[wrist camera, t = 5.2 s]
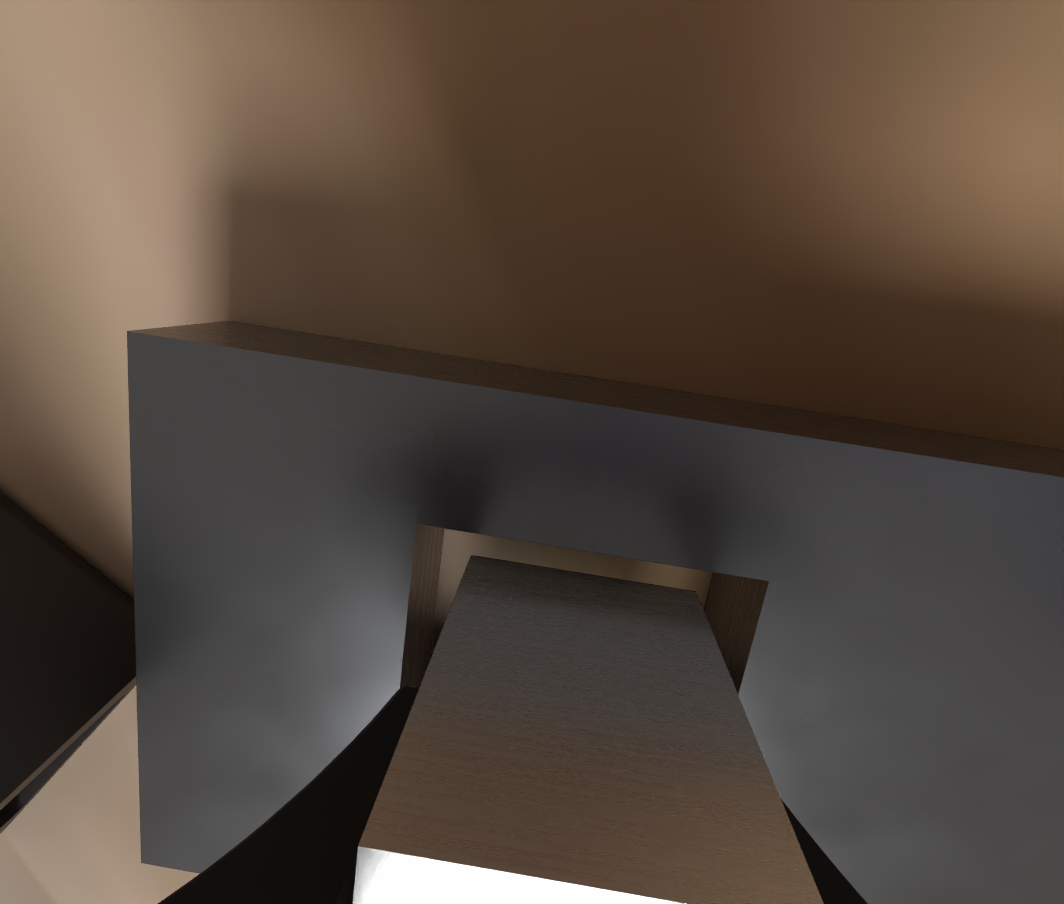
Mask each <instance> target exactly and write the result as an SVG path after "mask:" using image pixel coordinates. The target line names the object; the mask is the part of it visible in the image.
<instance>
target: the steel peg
mask: <svg viewBox="0 0 1064 904" xmlns="http://www.w3.org/2000/svg"><path fill="white" fill-rule="evenodd" d="M353 904H824V903H823V901H822V898H821V896H820V894H819V891H818V889H817V886H816V884H815V881H814V879H813V876H812V874H811V872H810V869H809V867H808V864H807V862H806V859H805V857H804V854H803V852H802V850H801V847H800V845H799V842H798V840H797V837H796V835H795V832H794V830H793V828H792V825H791V823H790V820H789V818H788V815H787V813H786V810H785V808H784V806H783V803H782V801H781V798H780V796H779V793H778V791H777V788H776V786H775V784H774V781H773V779H772V776H771V774H770V771H769V769H768V766H767V764H766V762H765V759H764V757H763V754H762V752H761V749H760V747H759V744H758V742H757V740H756V737H755V735H754V732H753V730H752V727H751V725H750V722H749V720H748V718H747V715H746V713H745V710H744V708H743V705H742V703H741V700H740V698H739V696H738V693H737V691H736V688H735V686H734V683H733V681H732V678H731V676H730V674H729V671H728V669H727V666H726V664H725V661H724V659H723V656H722V654H721V652H720V649H719V647H718V644H717V642H716V639H715V637H714V634H713V632H712V630H711V627H710V625H709V622H708V620H707V617H706V615H705V612H704V610H703V608H702V605H701V603H700V600H699V598H698V595H697V593H696V591H689V590H683V589H677V588H671V587H665V586H659V585H653V584H646V583H640V582H634V581H628V580H622V579H616V578H610V577H603V576H597V575H591V574H585V573H579V572H573V571H567V570H560V569H554V568H548V567H542V566H536V565H530V564H524V563H517V562H511V561H505V560H499V559H493V558H487V557H481V556H474V555H471V557H470V559H469V562H468V564H467V567H466V569H465V572H464V575H463V577H462V580H461V582H460V585H459V587H458V590H457V593H456V595H455V598H454V600H453V603H452V605H451V608H450V611H449V613H448V616H447V618H446V621H445V623H444V626H443V629H442V631H441V634H440V636H439V639H438V642H437V644H436V647H435V649H434V652H433V654H432V657H431V660H430V662H429V665H428V667H427V670H426V672H425V675H424V678H423V680H422V683H421V685H420V688H419V690H418V693H417V696H416V698H415V701H414V703H413V706H412V708H411V711H410V714H409V716H408V719H407V721H406V724H405V726H404V729H403V732H402V734H401V737H400V739H399V742H398V745H397V747H396V750H395V752H394V755H393V757H392V760H391V763H390V765H389V768H388V770H387V773H386V775H385V778H384V781H383V783H382V786H381V788H380V791H379V793H378V796H377V799H376V801H375V804H374V806H373V809H372V811H371V814H370V817H369V819H368V822H367V824H366V827H365V830H364V832H363V835H362V837H361V840H360V842H359V845H358V852H357V862H356V873H355V884H354V895H353Z"/></svg>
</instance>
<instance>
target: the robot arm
mask: <svg viewBox="0 0 1064 904" xmlns="http://www.w3.org/2000/svg"><path fill="white" fill-rule="evenodd" d="M418 690H419V688H414V687H408V686H404V687H402V688H401V689H399V690H397V691H396V693H395V694H394V695H393V696H392V697H391V699H390V700H389V701H388V702H387V703H386V704H385V706H384V707H383V708H382V709H381V710H380V711H379V713H378V714H377V715H376V716H375V717H374V718H373V719H372V720H371V721H370V722H369V724H368V725H367V726H366V727H365V728H364V729H363V730H362V731H361V732H360V733H359V734H358V735H357V736H356V737H355V738H354V739H353V741H352V742H351V743H350V744H349V745H348V746H347V747H346V748H345V749H344V750H343V751H342V752H341V753H340V754H338V755H337V756H336V757H335V758H334V759H333V760H332V761H331V762H330V763H329V764H328V765H327V766H326V767H325V768H324V769H323V770H322V771H321V772H320V773H319V774H318V775H317V776H316V777H315V778H314V779H313V780H312V781H311V782H310V783H309V784H308V785H306V786H305V787H304V788H303V789H302V790H301V791H300V792H299V793H297V794H296V795H295V796H294V797H293V798H292V799H291V800H290V801H288V802H287V803H286V804H285V805H284V806H283V807H282V808H281V809H279V810H278V811H277V812H276V813H275V814H274V815H273V816H272V817H270V818H269V819H268V820H267V821H266V822H265V823H263V824H262V825H261V826H260V827H259V828H257V829H256V830H255V831H254V832H253V833H251V834H250V835H249V836H248V837H247V838H245V839H244V840H243V841H242V842H240V843H239V844H238V845H237V846H235V847H234V848H233V849H232V850H230V851H229V852H228V853H226V854H225V855H224V856H223V857H221V858H220V859H219V860H217V861H216V862H215V863H213V864H212V865H211V866H209V867H208V868H207V869H206V870H204V871H203V872H202V873H200V874H199V875H198V876H196V877H195V878H194V879H192V880H191V881H189V882H188V883H187V884H185V885H184V886H182V887H181V888H180V889H178V890H177V891H175V892H174V893H172V894H171V895H170V896H168V897H167V898H165V899H164V900H162V901H161V902H160V903H158V904H353V895H354V884H355V873H356V862H357V852H358V845H359V842H360V840H361V837H362V835H363V832H364V830H365V827H366V824H367V822H368V819H369V817H370V814H371V811H372V809H373V806H374V804H375V801H376V799H377V796H378V793H379V791H380V788H381V786H382V783H383V781H384V778H385V775H386V773H387V770H388V768H389V765H390V763H391V760H392V757H393V755H394V752H395V750H396V747H397V745H398V742H399V739H400V737H401V734H402V732H403V729H404V726H405V724H406V721H407V719H408V716H409V714H410V711H411V708H412V706H413V703H414V701H415V698H416V696H417V693H418ZM781 801H782V803H783V806H784V808H785V810H786V813H787V815H788V818H789V820H790V823H791V825H792V828H793V830H794V832H795V835H796V837H797V840H798V842H799V845H800V847H801V850H802V852H803V854H804V857H805V859H806V862H807V864H808V867H809V869H810V872H811V874H812V876H813V879H814V881H815V884H816V886H817V889H818V891H819V894H820V896H821V898H822V901H823V903H824V904H868V903H867V902H866V901H865V900H864V899H863V898H862V896H861V895H860V894H859V893H858V892H857V891H856V890H855V888H854V887H853V886H852V885H851V884H850V883H849V881H848V880H847V879H846V878H845V877H844V876H843V874H842V873H841V872H840V871H839V870H838V868H837V867H836V866H835V865H834V864H833V862H832V861H831V860H830V859H829V858H828V856H827V855H826V854H825V853H824V852H823V850H822V849H821V848H820V847H819V846H818V844H817V843H816V842H815V841H814V839H813V838H812V837H811V836H810V835H809V833H808V832H807V831H806V830H805V828H804V827H803V826H802V825H801V823H800V822H799V821H798V820H797V818H796V817H795V816H794V814H793V813H792V812H791V811H790V809H789V808H788V807H787V806H786V804H785V803H784V802H783V800H782V799H781Z"/></svg>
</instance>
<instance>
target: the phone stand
mask: <svg viewBox="0 0 1064 904" xmlns="http://www.w3.org/2000/svg"><path fill="white" fill-rule="evenodd" d="M135 685H136V647H135V609H134V601H133V600H131V599H130V598H129V597H128V596H127V595H125V594H124V593H123V592H122V591H120V590H119V589H118V588H117V587H115V586H114V585H113V584H112V583H110V582H109V581H108V580H107V579H106V578H104V577H103V576H102V575H101V574H99V573H98V572H97V571H96V570H94V569H93V568H92V567H91V566H90V565H88V564H87V563H86V562H85V561H83V560H82V559H81V558H80V557H78V556H77V555H76V554H75V553H74V552H72V551H71V550H70V549H69V548H67V547H66V546H65V545H64V544H62V543H61V542H60V541H59V540H58V539H56V538H55V537H54V536H53V535H51V534H50V533H49V532H48V531H46V530H45V529H44V528H43V527H41V526H40V525H39V524H38V523H37V522H35V521H34V520H33V519H32V518H30V517H29V516H28V515H27V514H25V513H24V512H23V511H22V510H21V509H19V508H18V507H17V506H16V505H14V504H13V503H12V502H11V501H9V500H8V499H7V498H6V497H5V496H3V495H2V494H1V493H0V833H1V832H2V831H3V830H4V829H5V828H6V827H7V826H8V825H9V824H10V823H11V822H12V821H13V819H14V818H15V817H16V816H17V815H18V814H19V813H20V812H21V811H22V810H23V808H24V807H25V806H26V805H27V804H28V803H29V802H30V801H31V800H32V799H33V797H34V796H35V795H36V794H37V793H38V792H39V791H40V790H41V789H42V788H43V786H44V785H45V784H46V783H47V782H48V781H49V780H50V779H51V778H52V777H53V776H54V774H55V773H56V772H57V771H58V770H59V769H60V768H61V767H62V766H63V765H64V763H65V762H66V761H67V760H68V759H69V758H70V757H71V756H72V755H73V754H74V752H75V751H76V750H77V749H78V748H79V747H80V746H81V745H82V743H83V742H84V741H85V740H86V739H87V738H88V737H89V736H90V735H91V734H92V733H93V732H94V731H95V729H96V728H97V727H98V726H99V725H100V724H101V723H102V722H103V721H104V720H105V718H106V717H107V716H108V715H109V714H110V713H111V712H112V711H113V710H114V709H115V707H116V706H117V705H118V704H119V703H120V702H121V701H122V700H123V699H124V698H125V696H126V695H127V694H128V693H129V692H130V691H131V690H132V689H133V688H134V687H135Z"/></svg>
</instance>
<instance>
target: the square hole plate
mask: <svg viewBox="0 0 1064 904" xmlns="http://www.w3.org/2000/svg"><path fill="white" fill-rule="evenodd" d="M127 348H128V386H129V423H130V460H131V498H132V535H133V572H134V609H135V647H136V684H137V721H138V758H139V796H140V833H141V863H145V864H150V865H156V866H161V867H167V868H172V869H178V870H184V871H189V872H195V873H202V872H203V871H204V870H206V869H207V868H208V867H209V866H211V865H212V864H213V863H215V862H216V861H217V860H219V859H220V858H221V857H223V856H224V855H225V854H226V853H228V852H229V851H230V850H232V849H233V848H234V847H235V846H237V845H238V844H239V843H240V842H242V841H243V840H244V839H245V838H247V837H248V836H249V835H250V834H251V833H253V832H254V831H255V830H256V829H257V828H259V827H260V826H261V825H262V824H263V823H265V822H266V821H267V820H268V819H269V818H270V817H272V816H273V815H274V814H275V813H276V812H277V811H278V810H279V809H281V808H282V807H283V806H284V805H285V804H286V803H287V802H288V801H290V800H291V799H292V798H293V797H294V796H295V795H296V794H297V793H299V792H300V791H301V790H302V789H303V788H304V787H305V786H306V785H308V784H309V783H310V782H311V781H312V780H313V779H314V778H315V777H316V776H317V775H318V774H319V773H320V772H321V771H322V770H323V769H324V768H325V767H326V766H327V765H328V764H329V763H330V762H331V761H332V760H333V759H334V758H335V757H336V756H337V755H338V754H340V753H341V752H342V751H343V750H344V749H345V748H346V747H347V746H348V745H349V744H350V743H351V742H352V741H353V739H354V738H355V737H356V736H357V735H358V734H359V733H360V732H361V731H362V730H363V729H364V728H365V727H366V726H367V725H368V724H369V722H370V721H371V720H372V719H373V718H374V717H375V716H376V715H377V714H378V713H379V711H380V710H381V709H382V708H383V707H384V706H385V704H386V703H387V702H388V701H389V700H390V699H391V697H392V696H393V695H394V694H395V693H396V691H397V690H399V689H401V688H402V687H404V686H408V687H414V688H420V685H421V683H422V680H423V678H424V675H425V672H426V670H427V667H428V664H429V655H430V647H431V638H432V629H433V621H434V612H435V604H436V595H437V586H438V578H439V569H440V560H441V552H442V543H443V535H444V528H446V529H452V530H458V531H464V532H471V533H477V534H483V535H489V536H495V537H501V538H507V539H514V540H520V541H526V542H532V543H538V544H544V545H550V546H557V547H563V548H569V549H575V550H581V551H587V552H593V553H600V554H606V555H612V556H618V557H624V558H630V559H636V560H642V561H649V562H655V563H661V564H667V565H673V566H679V567H685V568H692V569H698V570H704V571H710V572H714V573H713V577H712V581H711V585H710V590H709V594H708V598H707V602H706V606H705V610H704V612H705V615H706V617H707V620H708V622H709V625H710V627H711V630H712V632H713V634H714V637H715V639H716V642H717V644H718V647H719V649H720V652H721V654H722V656H723V659H724V661H725V664H726V666H727V669H728V671H729V674H730V676H731V678H732V681H733V683H734V686H735V688H736V691H737V693H738V696H739V698H740V700H741V703H742V705H743V708H744V710H745V713H746V715H747V718H748V720H749V722H750V725H751V727H752V730H753V732H754V735H755V737H756V740H757V742H758V744H759V747H760V749H761V752H762V754H763V757H764V759H765V762H766V764H767V766H768V769H769V771H770V774H771V776H772V779H773V781H774V784H775V786H776V788H777V791H778V793H779V796H780V798H781V799H782V800H783V802H784V803H785V804H786V806H787V807H788V808H789V809H790V811H791V812H792V813H793V814H794V816H795V817H796V818H797V820H798V821H799V822H800V823H801V825H802V826H803V827H804V828H805V830H806V831H807V832H808V833H809V835H810V836H811V837H812V838H813V839H814V841H815V842H816V843H817V844H818V846H819V847H820V848H821V849H822V850H823V852H824V853H825V854H826V855H827V856H828V858H829V859H830V860H831V861H832V862H833V864H834V865H835V866H836V867H837V868H838V870H839V871H840V872H841V873H842V874H843V876H844V877H845V878H846V879H847V880H848V881H849V883H850V884H851V885H852V886H853V887H854V888H855V890H856V891H857V892H858V893H859V894H860V895H861V896H862V898H863V899H864V900H865V901H866V902H867V903H868V904H1064V451H1062V450H1056V449H1049V448H1043V447H1036V446H1030V445H1023V444H1017V443H1010V442H1004V441H998V440H991V439H985V438H978V437H972V436H965V435H959V434H952V433H946V432H940V431H933V430H927V429H920V428H914V427H907V426H901V425H894V424H888V423H881V422H875V421H869V420H862V419H856V418H849V417H843V416H836V415H830V414H823V413H817V412H811V411H804V410H798V409H791V408H785V407H778V406H772V405H765V404H759V403H752V402H746V401H740V400H733V399H727V398H720V397H714V396H707V395H701V394H694V393H688V392H682V391H675V390H669V389H662V388H656V387H649V386H643V385H636V384H630V383H623V382H617V381H611V380H604V379H598V378H591V377H585V376H578V375H572V374H565V373H559V372H553V371H546V370H540V369H533V368H527V367H520V366H514V365H507V364H501V363H494V362H488V361H482V360H475V359H469V358H462V357H456V356H449V355H443V354H436V353H430V352H423V351H417V350H411V349H404V348H398V347H391V346H385V345H378V344H372V343H365V342H359V341H353V340H346V339H340V338H333V337H327V336H320V335H314V334H307V333H301V332H294V331H288V330H282V329H275V328H269V327H262V326H256V325H249V324H243V323H236V322H230V321H223V322H213V323H203V324H193V325H183V326H173V327H163V328H153V329H143V330H133V331H127Z"/></svg>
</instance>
